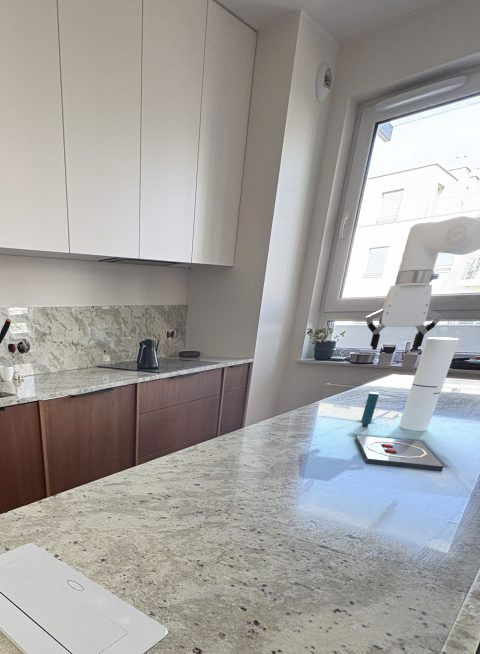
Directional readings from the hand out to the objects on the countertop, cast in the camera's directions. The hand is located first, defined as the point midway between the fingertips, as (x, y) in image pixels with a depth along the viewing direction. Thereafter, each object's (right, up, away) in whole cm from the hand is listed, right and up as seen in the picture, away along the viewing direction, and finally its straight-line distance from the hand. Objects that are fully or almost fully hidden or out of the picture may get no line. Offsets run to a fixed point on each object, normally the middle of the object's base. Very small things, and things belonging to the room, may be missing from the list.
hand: (393, 349), depth 117 cm
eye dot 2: (-10, -31, -12) cm, 35 cm away
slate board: (-7, -31, -11) cm, 33 cm away
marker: (-1, -19, +12) cm, 22 cm away
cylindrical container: (+13, -20, +10) cm, 26 cm away
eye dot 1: (-8, -30, -8) cm, 32 cm away
